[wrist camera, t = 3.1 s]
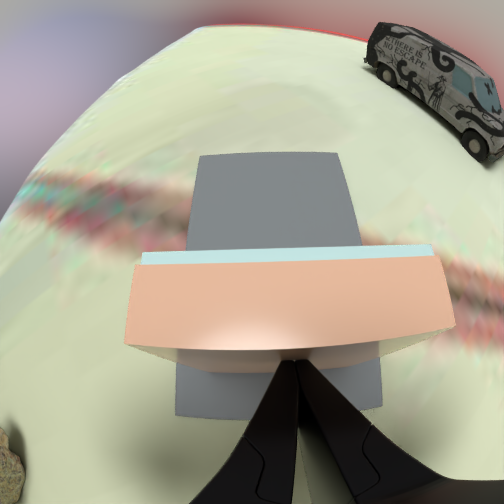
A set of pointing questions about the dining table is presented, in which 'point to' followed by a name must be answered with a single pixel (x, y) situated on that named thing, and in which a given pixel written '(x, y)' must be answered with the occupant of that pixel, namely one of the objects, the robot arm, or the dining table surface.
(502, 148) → the toy car
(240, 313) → the block
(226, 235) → the mat
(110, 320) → the dining table surface
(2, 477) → the rock
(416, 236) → the dining table surface
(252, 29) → the dining table surface
